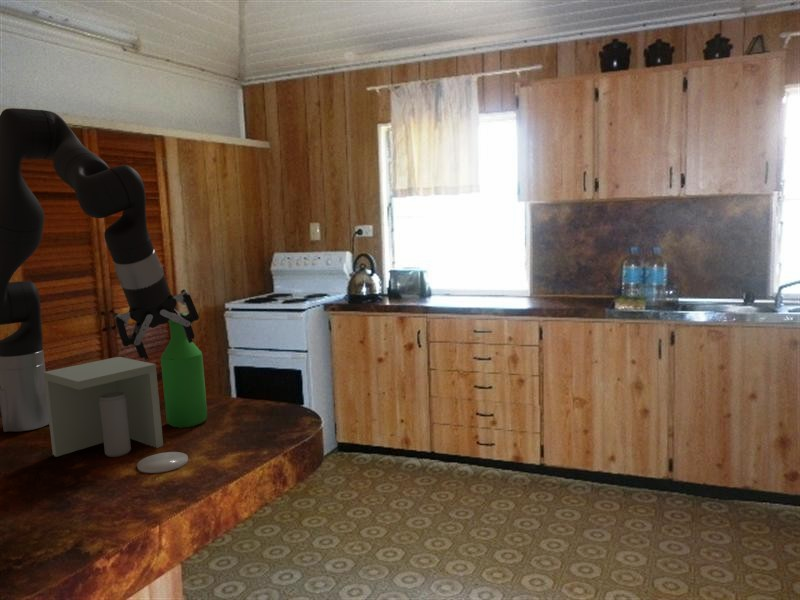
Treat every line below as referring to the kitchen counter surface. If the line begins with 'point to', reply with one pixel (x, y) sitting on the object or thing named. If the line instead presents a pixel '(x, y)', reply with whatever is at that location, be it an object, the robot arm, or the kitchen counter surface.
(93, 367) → the shelf housing
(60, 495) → the kitchen counter surface
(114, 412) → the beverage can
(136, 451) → the kitchen counter surface
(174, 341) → the bottle
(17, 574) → the kitchen counter surface
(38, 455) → the kitchen counter surface
